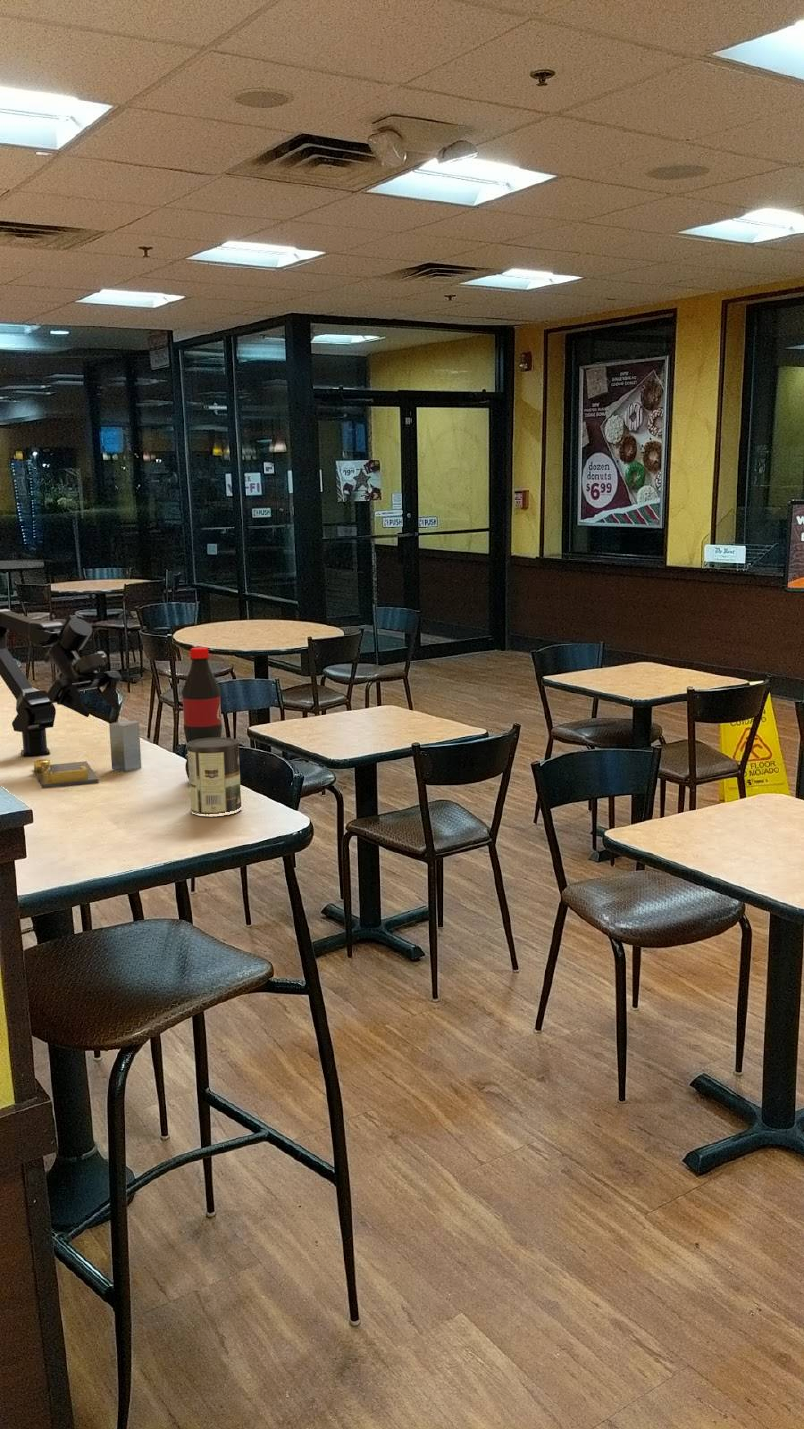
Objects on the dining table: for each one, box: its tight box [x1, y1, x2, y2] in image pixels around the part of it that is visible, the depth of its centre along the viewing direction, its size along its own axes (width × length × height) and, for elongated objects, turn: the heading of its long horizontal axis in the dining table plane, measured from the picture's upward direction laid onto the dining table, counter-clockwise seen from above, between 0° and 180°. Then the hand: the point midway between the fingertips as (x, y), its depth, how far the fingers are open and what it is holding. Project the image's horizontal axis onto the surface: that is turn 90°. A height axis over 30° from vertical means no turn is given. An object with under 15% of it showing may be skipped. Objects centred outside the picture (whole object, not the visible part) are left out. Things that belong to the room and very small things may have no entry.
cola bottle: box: [181, 646, 223, 780], centre depth 240 cm, size 8×8×30 cm
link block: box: [108, 720, 142, 773], centre depth 254 cm, size 4×5×11 cm
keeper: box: [33, 758, 100, 789], centre depth 249 cm, size 20×12×3 cm, turn 23°
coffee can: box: [186, 736, 242, 815], centre depth 216 cm, size 10×10×14 cm
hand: (103, 712), depth 257 cm, fingers open, 9 cm apart
